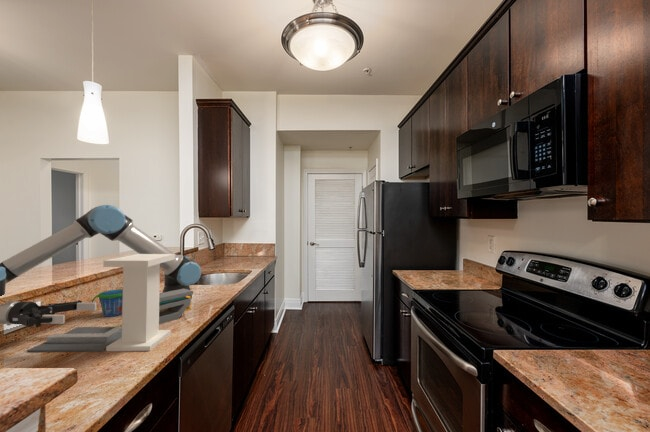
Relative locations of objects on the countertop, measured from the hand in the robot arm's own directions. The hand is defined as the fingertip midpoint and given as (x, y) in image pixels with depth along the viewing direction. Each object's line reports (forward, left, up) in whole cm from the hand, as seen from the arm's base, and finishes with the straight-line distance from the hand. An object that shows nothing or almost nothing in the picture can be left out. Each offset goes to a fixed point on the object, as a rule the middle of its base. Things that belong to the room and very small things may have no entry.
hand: (80, 312), depth 100 cm
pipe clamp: (-37, -1, -11) cm, 39 cm away
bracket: (-3, -2, -10) cm, 10 cm away
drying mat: (-3, -1, -11) cm, 11 cm away
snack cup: (-21, -23, -11) cm, 33 cm away
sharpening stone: (-26, +3, -11) cm, 29 cm away
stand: (-10, +18, -11) cm, 23 cm away
